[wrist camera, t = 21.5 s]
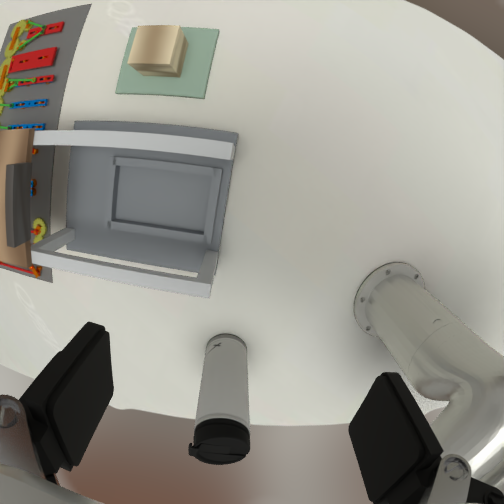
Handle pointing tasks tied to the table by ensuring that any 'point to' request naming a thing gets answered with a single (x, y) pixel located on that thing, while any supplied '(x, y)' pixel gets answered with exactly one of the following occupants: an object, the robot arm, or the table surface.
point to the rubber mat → (191, 75)
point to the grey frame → (142, 202)
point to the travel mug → (223, 404)
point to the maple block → (158, 51)
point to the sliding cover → (15, 196)
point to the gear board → (38, 101)
